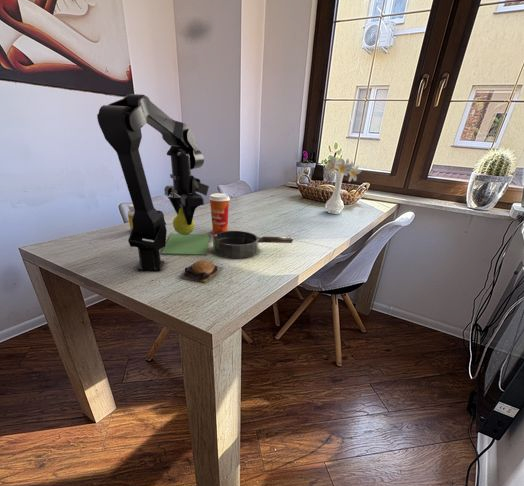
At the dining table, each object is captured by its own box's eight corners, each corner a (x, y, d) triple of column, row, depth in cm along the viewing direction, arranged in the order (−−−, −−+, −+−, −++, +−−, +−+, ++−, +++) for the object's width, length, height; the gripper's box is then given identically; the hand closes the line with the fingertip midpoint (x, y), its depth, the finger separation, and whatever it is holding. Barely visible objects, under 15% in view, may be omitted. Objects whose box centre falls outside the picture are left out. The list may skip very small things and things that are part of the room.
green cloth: (205, 255, 101) (205, 254, 101) (161, 254, 100) (161, 253, 100) (209, 235, 118) (209, 234, 118) (171, 234, 117) (171, 233, 116)
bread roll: (197, 264, 95) (196, 253, 93) (222, 269, 93) (222, 257, 91) (178, 278, 86) (177, 265, 84) (205, 283, 84) (205, 270, 82)
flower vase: (342, 218, 149) (354, 161, 136) (312, 210, 160) (320, 156, 147) (357, 214, 157) (369, 160, 144) (327, 207, 168) (336, 155, 155)
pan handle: (256, 243, 104) (256, 237, 103) (255, 241, 106) (255, 235, 105) (293, 244, 106) (293, 238, 105) (292, 242, 107) (292, 236, 106)
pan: (259, 259, 101) (259, 246, 98) (212, 258, 99) (211, 244, 97) (256, 243, 113) (257, 231, 111) (214, 242, 112) (214, 230, 110)
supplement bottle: (143, 228, 121) (139, 202, 116) (147, 232, 117) (143, 206, 112) (129, 230, 118) (124, 204, 113) (132, 234, 115) (128, 207, 110)
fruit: (170, 234, 106) (167, 196, 102) (188, 233, 111) (186, 197, 106) (179, 237, 102) (177, 198, 97) (198, 235, 106) (196, 198, 101)
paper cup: (206, 233, 120) (204, 195, 113) (217, 228, 126) (216, 192, 118) (223, 237, 117) (222, 198, 110) (233, 232, 123) (234, 195, 116)
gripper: (218, 175, 94) (219, 226, 102) (193, 166, 107) (196, 213, 115) (183, 176, 88) (187, 230, 97) (161, 167, 101) (166, 216, 109)
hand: (185, 221), depth 105 cm, fingers closed on fruit, 7 cm apart
